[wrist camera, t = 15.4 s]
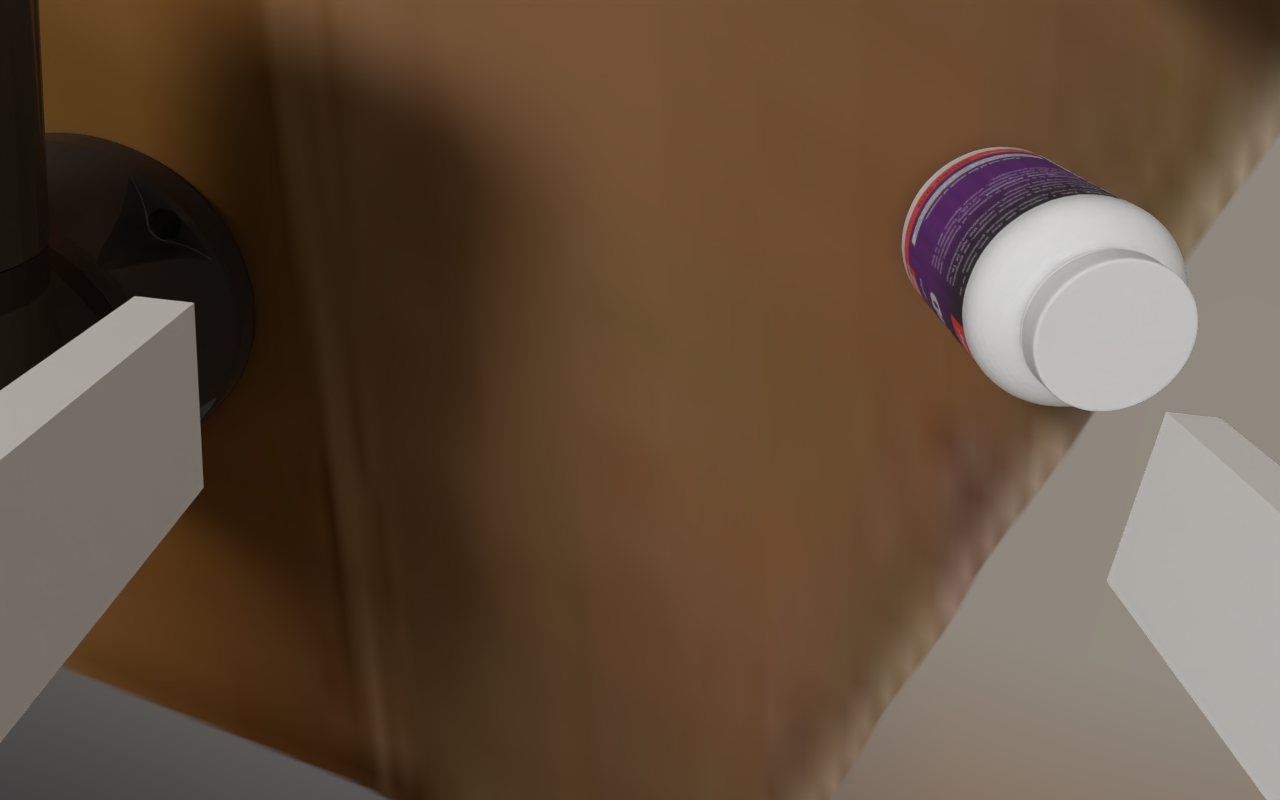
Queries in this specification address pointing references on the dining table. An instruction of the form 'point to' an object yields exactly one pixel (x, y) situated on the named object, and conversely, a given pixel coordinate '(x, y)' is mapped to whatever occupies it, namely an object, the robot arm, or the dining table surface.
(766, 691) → the dining table surface
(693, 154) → the dining table surface
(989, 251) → the pill bottle
